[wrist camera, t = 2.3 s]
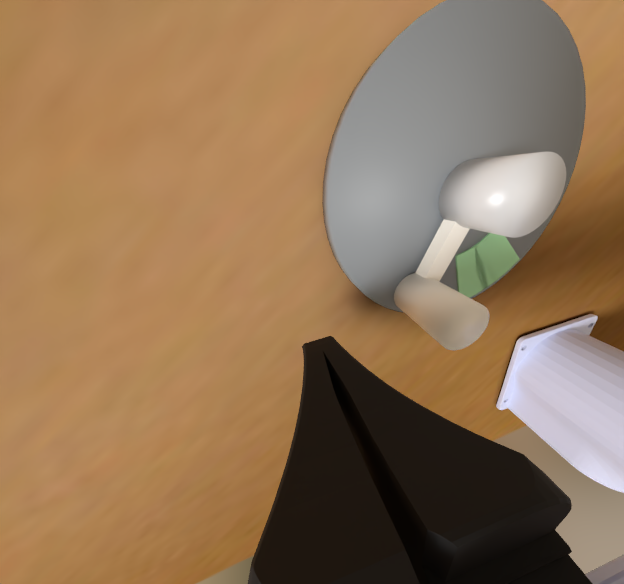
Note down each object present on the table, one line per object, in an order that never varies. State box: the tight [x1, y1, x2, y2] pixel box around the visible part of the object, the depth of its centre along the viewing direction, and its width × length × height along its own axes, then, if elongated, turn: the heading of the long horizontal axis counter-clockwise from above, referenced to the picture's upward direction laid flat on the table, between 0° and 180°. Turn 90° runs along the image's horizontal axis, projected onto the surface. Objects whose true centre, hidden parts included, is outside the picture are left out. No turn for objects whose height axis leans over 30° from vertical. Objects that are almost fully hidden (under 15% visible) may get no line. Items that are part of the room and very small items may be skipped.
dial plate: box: [323, 0, 586, 312], centre depth 12 cm, size 14×14×1 cm
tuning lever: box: [394, 152, 566, 350], centre depth 10 cm, size 8×3×4 cm, turn 161°
